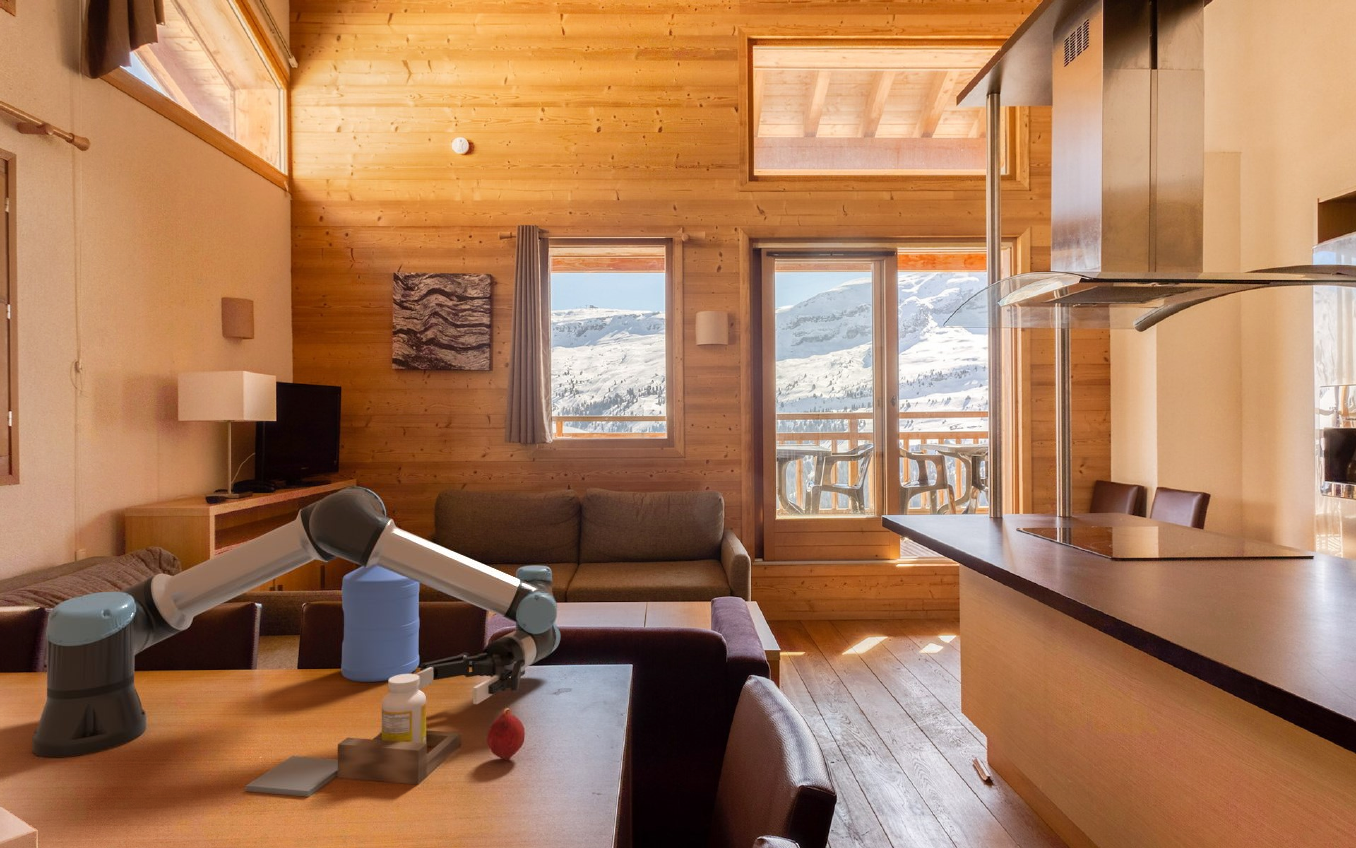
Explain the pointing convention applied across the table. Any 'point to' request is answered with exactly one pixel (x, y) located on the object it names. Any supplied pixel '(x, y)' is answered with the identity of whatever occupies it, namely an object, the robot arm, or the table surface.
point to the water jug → (379, 624)
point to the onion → (506, 735)
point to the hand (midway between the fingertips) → (440, 691)
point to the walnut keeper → (394, 757)
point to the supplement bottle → (404, 710)
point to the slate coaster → (296, 776)
